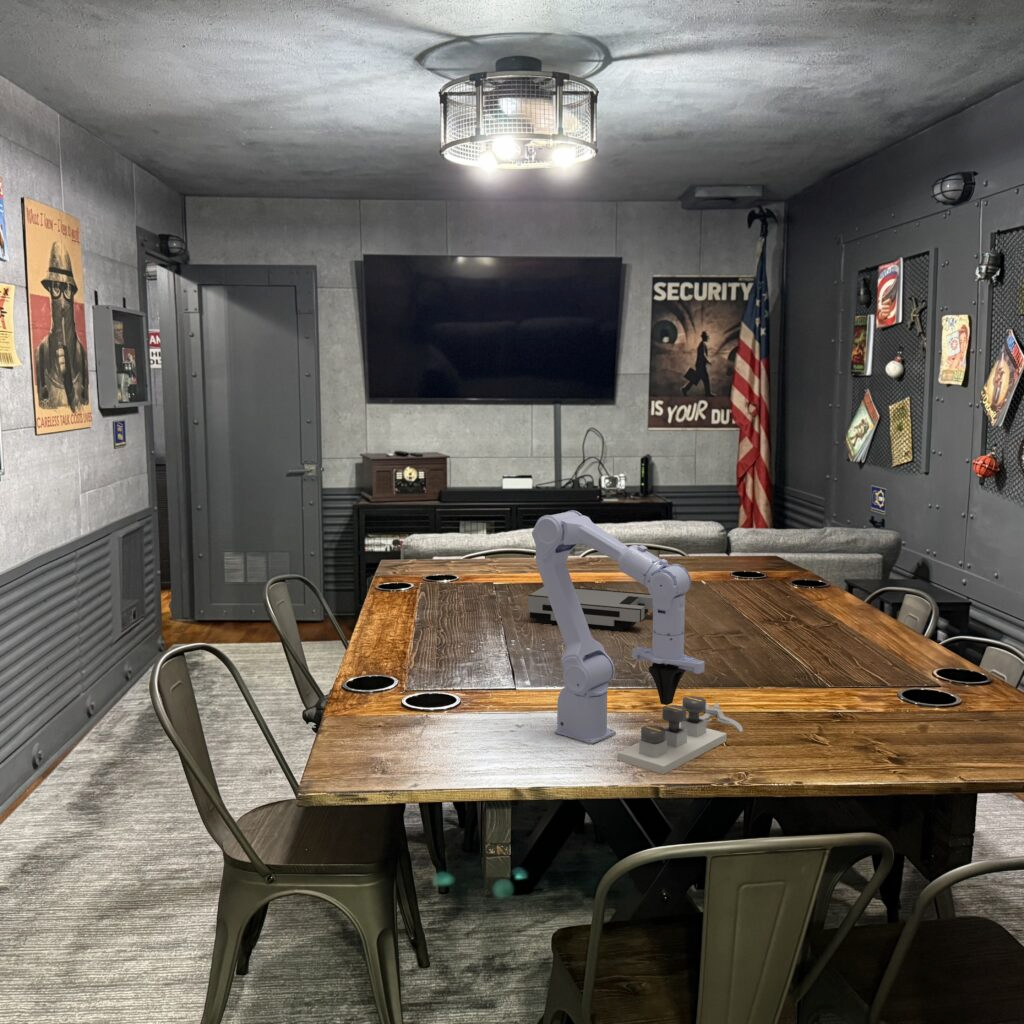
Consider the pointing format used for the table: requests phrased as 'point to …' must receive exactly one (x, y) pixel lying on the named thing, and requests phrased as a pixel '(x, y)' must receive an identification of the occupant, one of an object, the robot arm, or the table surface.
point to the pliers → (720, 716)
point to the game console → (597, 608)
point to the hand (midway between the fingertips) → (666, 703)
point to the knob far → (694, 707)
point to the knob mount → (673, 747)
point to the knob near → (653, 734)
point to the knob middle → (674, 716)
